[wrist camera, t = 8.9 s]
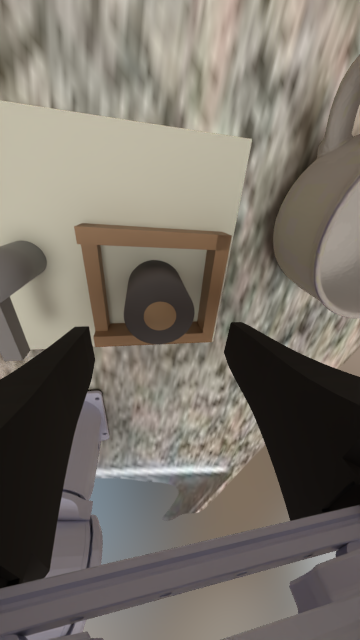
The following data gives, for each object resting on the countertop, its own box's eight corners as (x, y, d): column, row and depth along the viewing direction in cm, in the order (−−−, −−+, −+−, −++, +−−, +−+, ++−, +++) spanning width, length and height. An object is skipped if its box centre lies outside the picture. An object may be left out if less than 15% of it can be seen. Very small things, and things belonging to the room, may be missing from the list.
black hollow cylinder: (178, 310, 18) (189, 345, 14) (128, 309, 17) (124, 345, 13) (184, 262, 16) (200, 285, 12) (128, 257, 15) (122, 280, 11)
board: (209, 335, 22) (231, 377, 17) (-27, 343, 18) (-96, 403, 13) (243, 143, 14) (307, 109, 9) (-171, 82, 10) (-529, -53, 5)
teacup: (362, 257, 20) (475, 287, 13) (260, 297, 20) (319, 345, 14) (398, 49, 13) (693, -123, 6) (237, 117, 13) (341, 28, 6)
